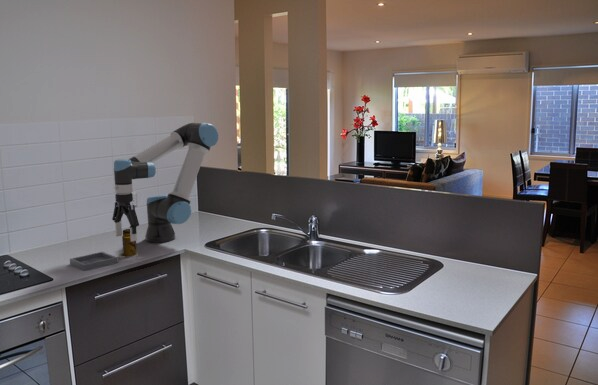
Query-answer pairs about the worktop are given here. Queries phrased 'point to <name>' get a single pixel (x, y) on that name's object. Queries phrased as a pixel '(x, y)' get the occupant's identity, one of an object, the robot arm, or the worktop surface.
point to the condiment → (128, 245)
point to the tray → (93, 261)
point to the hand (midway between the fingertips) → (126, 238)
